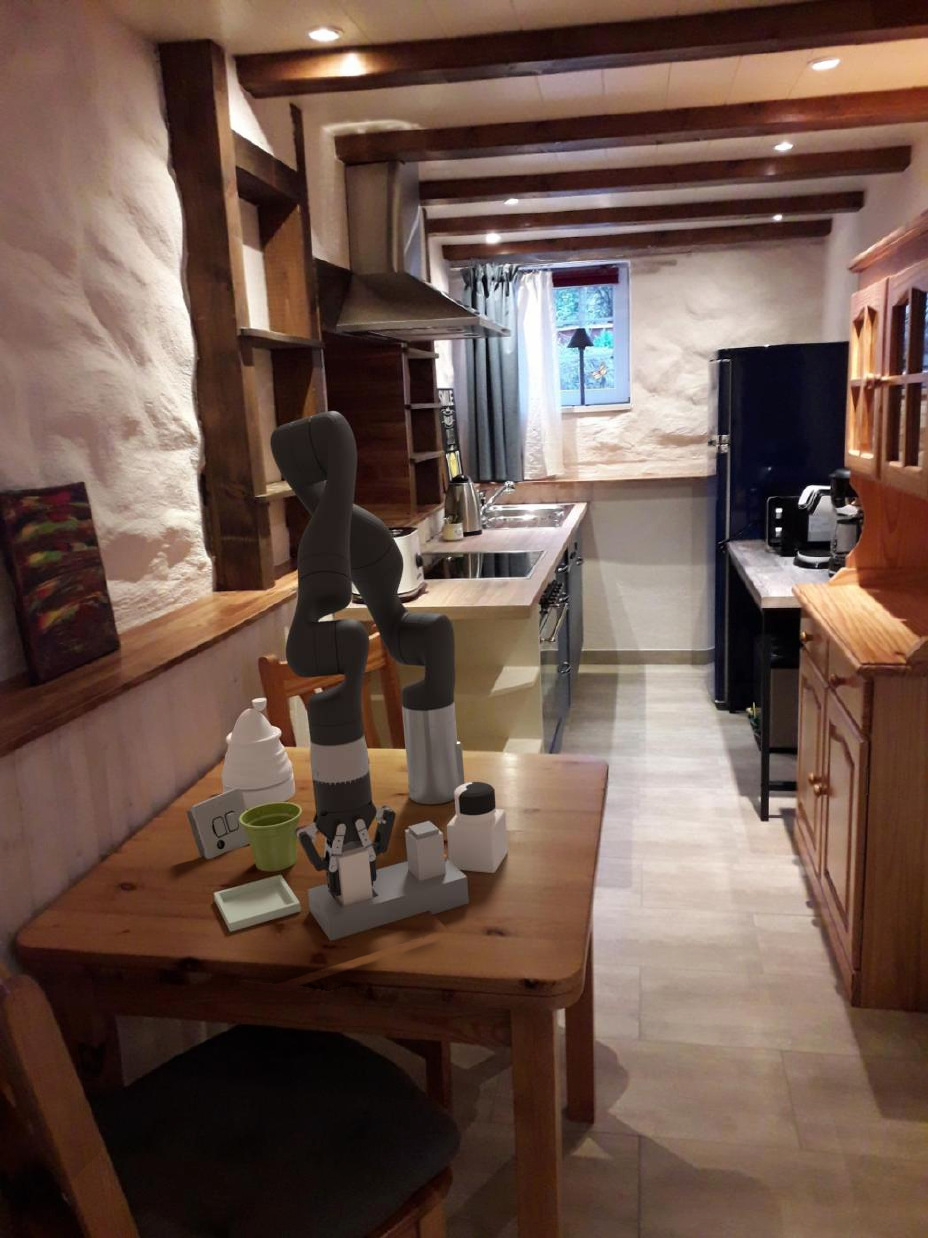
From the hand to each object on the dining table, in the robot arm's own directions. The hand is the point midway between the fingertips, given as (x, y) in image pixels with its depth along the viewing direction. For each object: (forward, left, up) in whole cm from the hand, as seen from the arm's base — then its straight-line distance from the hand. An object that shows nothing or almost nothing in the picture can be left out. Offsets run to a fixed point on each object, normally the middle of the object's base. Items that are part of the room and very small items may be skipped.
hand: (352, 888), depth 128 cm
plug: (0, 0, -3) cm, 3 cm away
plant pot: (+5, -22, -5) cm, 23 cm away
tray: (+11, -10, -5) cm, 16 cm away
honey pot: (0, -52, -5) cm, 52 cm away
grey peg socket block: (-5, 0, -5) cm, 7 cm away
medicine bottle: (-22, -6, -5) cm, 23 cm away
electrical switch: (+11, -33, -5) cm, 35 cm away
